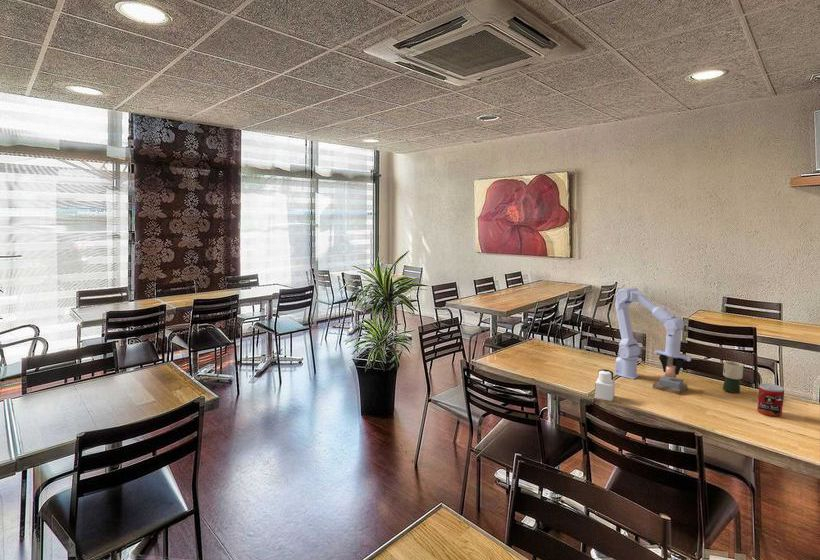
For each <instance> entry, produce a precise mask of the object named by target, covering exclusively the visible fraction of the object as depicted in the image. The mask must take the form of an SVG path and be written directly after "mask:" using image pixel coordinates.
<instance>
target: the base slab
mask: <svg viewBox="0 0 820 560" xmlns="http://www.w3.org/2000/svg"><path fill="white" fill-rule="evenodd" d="M652 389H654V390H658V391H662V392H666V393H670V394H673V393H674V395H678V396H680V395H681V394H682V393H684V392H686V390H688V384H685V383H683V385H682V386H681V387H680V389H675V388H671V387H666V386H661V385H659V380H658V381H656V382H654V383H653V384H652Z"/></svg>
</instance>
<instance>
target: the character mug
mask: <svg viewBox="0 0 820 560" xmlns="http://www.w3.org/2000/svg"><path fill="white" fill-rule="evenodd" d="M722 369H723V371H722V375H723V376H724V377H725V378H724V381H723V385H722V386H723V387H722V390H723V391H725V392H729V393H741V382H740V380H741V379H743V377H744V376H743V373H744V364H743V363H741V362H736V361H732V360H729V361H728V360H726V361H724V362H723V368H722Z"/></svg>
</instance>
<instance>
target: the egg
mask: <svg viewBox="0 0 820 560" xmlns="http://www.w3.org/2000/svg"><path fill="white" fill-rule="evenodd" d="M664 373H665V374H664V375H665V376H667V377H671V378H677V375H676V365H673V364H672V365H671V364H667V365H666V371H665V372H664Z"/></svg>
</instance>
